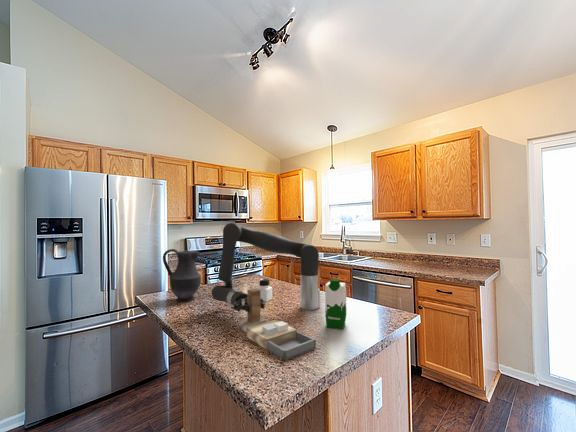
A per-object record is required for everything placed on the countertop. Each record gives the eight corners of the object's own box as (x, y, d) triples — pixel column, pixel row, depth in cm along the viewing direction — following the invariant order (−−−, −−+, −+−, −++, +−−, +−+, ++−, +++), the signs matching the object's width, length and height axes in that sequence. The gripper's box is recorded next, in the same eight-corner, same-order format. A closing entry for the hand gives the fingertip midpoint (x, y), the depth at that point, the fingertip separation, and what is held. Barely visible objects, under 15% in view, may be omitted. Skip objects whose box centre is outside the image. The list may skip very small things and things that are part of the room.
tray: (267, 350, 94) (267, 341, 94) (297, 339, 103) (297, 331, 103) (284, 360, 86) (284, 351, 86) (315, 348, 95) (315, 339, 95)
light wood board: (246, 336, 105) (246, 327, 105) (275, 328, 114) (275, 319, 114) (266, 349, 94) (266, 339, 94) (297, 338, 103) (297, 329, 103)
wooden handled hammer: (241, 329, 112) (241, 291, 113) (261, 323, 119) (261, 287, 119) (245, 332, 109) (245, 292, 110) (266, 326, 116) (266, 289, 116)
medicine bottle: (272, 299, 158) (272, 278, 159) (266, 302, 152) (266, 280, 152) (262, 297, 161) (262, 277, 162) (255, 300, 155) (255, 279, 155)
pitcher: (200, 302, 151) (200, 249, 152) (159, 306, 145) (160, 250, 146) (201, 295, 168) (201, 247, 169) (164, 298, 162) (165, 248, 163)
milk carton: (323, 328, 113) (323, 280, 114) (327, 320, 122) (327, 276, 123) (345, 330, 111) (344, 281, 111) (347, 323, 119) (347, 277, 120)
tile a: (273, 328, 104) (273, 323, 104) (281, 326, 107) (281, 321, 107) (279, 331, 101) (279, 326, 101) (288, 329, 103) (288, 323, 103)
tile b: (262, 332, 101) (262, 326, 101) (271, 329, 103) (271, 324, 103) (268, 335, 98) (268, 329, 98) (277, 332, 100) (277, 327, 100)
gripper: (223, 293, 121) (241, 301, 108) (251, 288, 130) (270, 295, 117) (223, 310, 121) (241, 320, 108) (251, 304, 130) (271, 313, 117)
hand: (256, 307), depth 113 cm, fingers open, 6 cm apart
